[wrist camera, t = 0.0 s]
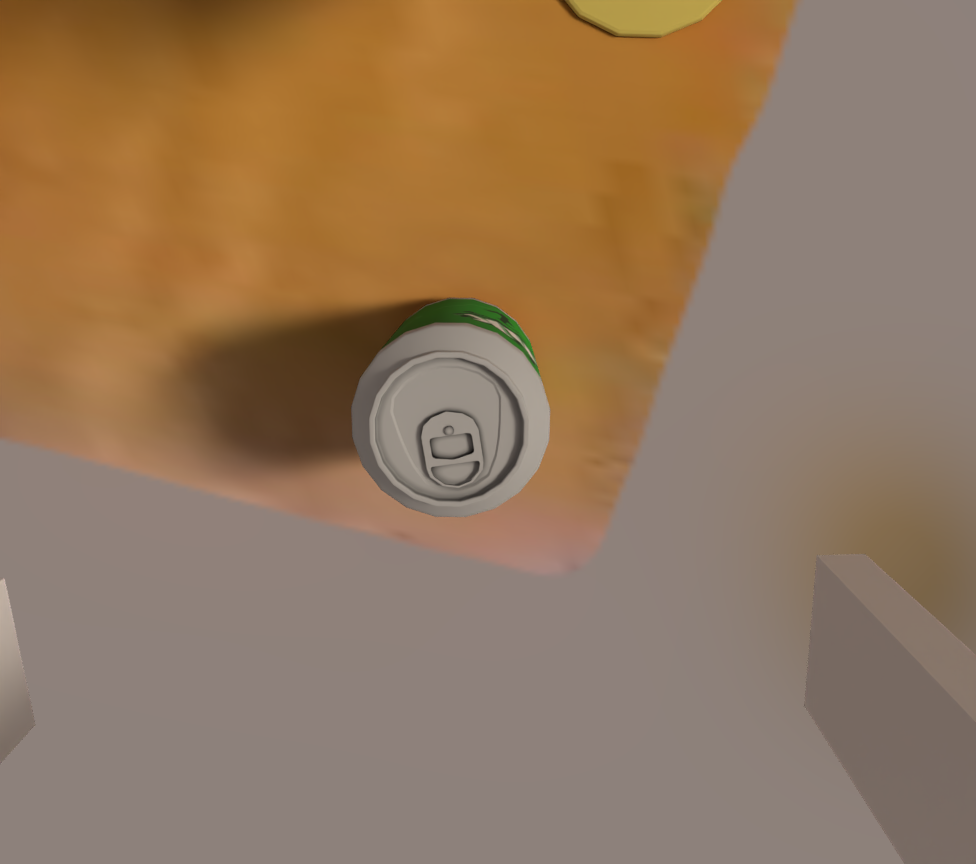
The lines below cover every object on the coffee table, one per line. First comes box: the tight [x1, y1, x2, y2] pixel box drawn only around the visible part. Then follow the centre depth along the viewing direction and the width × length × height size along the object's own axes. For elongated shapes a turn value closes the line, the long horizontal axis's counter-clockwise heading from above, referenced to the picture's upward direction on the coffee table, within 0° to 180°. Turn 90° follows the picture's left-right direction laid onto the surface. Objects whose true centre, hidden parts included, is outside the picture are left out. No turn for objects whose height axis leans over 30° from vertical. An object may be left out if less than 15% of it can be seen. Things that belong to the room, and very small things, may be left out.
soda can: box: [351, 298, 550, 517], centre depth 34 cm, size 8×8×12 cm
